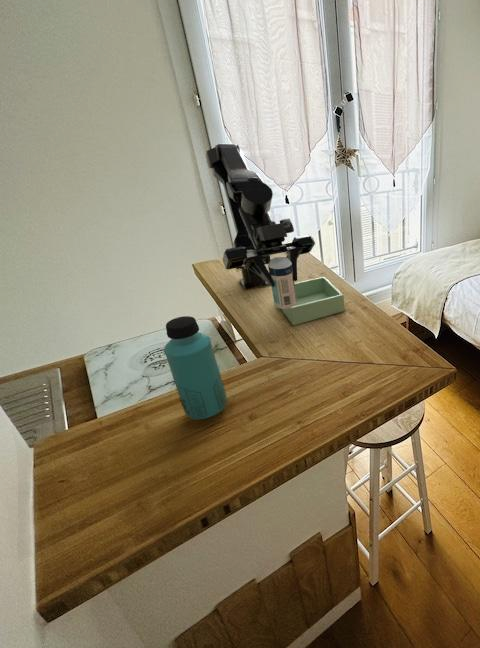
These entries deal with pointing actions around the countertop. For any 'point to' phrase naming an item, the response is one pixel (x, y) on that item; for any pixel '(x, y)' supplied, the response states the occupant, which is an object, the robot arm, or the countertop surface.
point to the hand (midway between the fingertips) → (284, 283)
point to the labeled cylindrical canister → (282, 282)
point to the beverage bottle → (194, 369)
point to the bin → (315, 301)
